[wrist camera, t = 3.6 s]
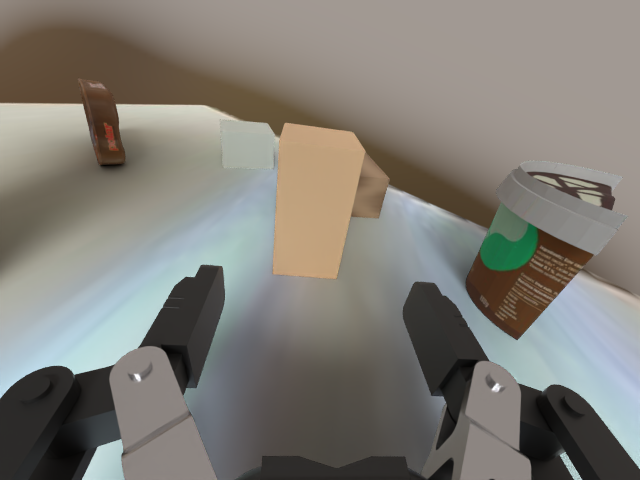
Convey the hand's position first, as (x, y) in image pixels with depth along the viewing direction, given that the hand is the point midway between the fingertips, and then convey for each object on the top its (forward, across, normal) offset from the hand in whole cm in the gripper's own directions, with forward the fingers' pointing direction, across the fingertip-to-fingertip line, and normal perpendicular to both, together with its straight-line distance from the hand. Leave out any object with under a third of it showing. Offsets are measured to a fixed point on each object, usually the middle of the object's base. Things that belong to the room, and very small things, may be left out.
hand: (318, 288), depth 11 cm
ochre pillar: (+10, 0, +6) cm, 12 cm away
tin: (+29, +26, +6) cm, 39 cm away
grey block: (+33, +9, +6) cm, 35 cm away
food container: (+8, -16, +6) cm, 19 cm away
